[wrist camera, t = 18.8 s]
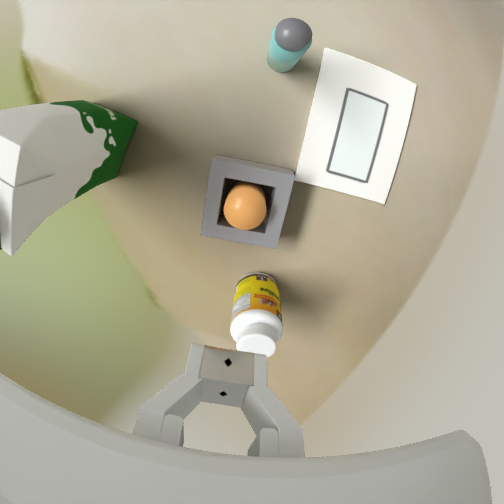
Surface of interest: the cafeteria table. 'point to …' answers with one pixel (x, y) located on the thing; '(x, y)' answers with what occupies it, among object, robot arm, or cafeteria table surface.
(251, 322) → the supplement bottle
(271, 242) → the button housing
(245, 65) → the cafeteria table surface
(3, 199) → the milk carton
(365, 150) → the worksheet
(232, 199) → the button
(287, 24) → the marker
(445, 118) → the cafeteria table surface
